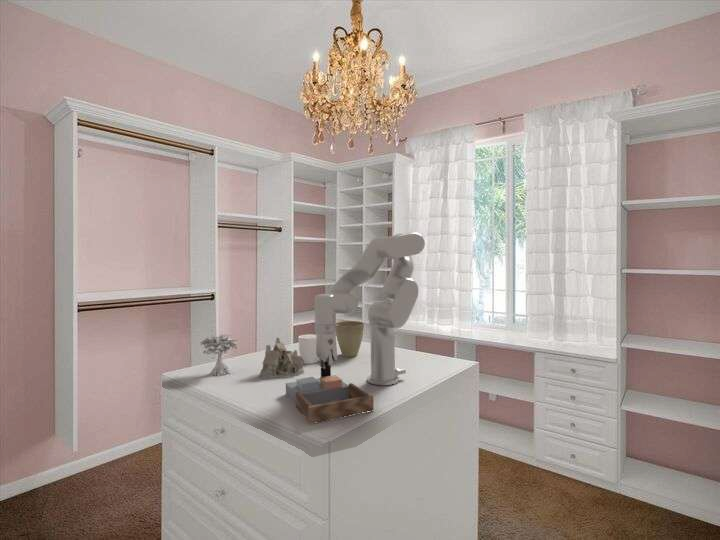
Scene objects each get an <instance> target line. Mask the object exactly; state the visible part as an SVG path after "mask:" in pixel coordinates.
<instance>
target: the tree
mask: <svg viewBox="0 0 720 540" xmlns="http://www.w3.org/2000/svg"><path fill="white" fill-rule="evenodd" d="M231 336H232V334H227V333H225V334H220V335H219V336H213V335H208V336H207V337H206V338H205V339H204V340H202V341H200V345H201V346H202V345H203V348H204V350H203V352H202V353H203V354H206V355H210V354H214V355H217V359H216V363H215V366H214V367H213V369H212V370H211V371H210V373H209V376H210V377H212V376H214V377H216V376H217V377H219V376H225V375H231V372H230V371H231V370H230V369H229V368H228V365H226V364H225V362H223V358H222V356H223V354H227V353H228V351H229V350H230V349H232V350H233V349H238V347H237V345H238V343H237V340H236V339H232V338H231Z"/></svg>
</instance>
